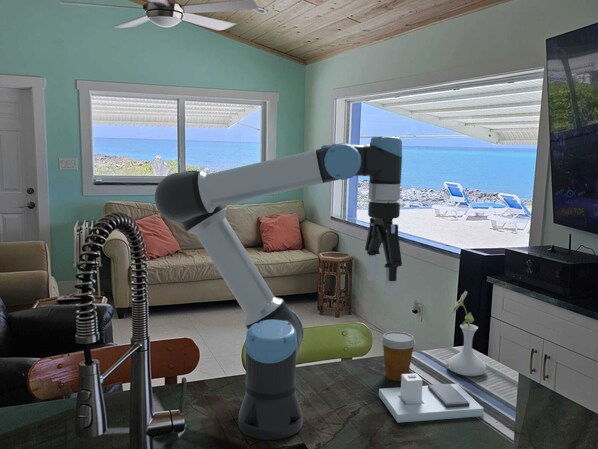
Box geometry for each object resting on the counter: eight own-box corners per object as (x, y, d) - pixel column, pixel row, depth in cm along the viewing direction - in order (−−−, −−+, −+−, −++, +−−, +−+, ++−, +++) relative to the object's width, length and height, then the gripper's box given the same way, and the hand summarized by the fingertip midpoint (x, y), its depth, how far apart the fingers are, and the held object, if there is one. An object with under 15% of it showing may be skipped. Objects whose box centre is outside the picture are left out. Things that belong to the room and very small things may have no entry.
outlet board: (397, 422, 127) (398, 414, 126) (378, 395, 140) (379, 388, 140) (483, 416, 131) (483, 408, 130) (456, 390, 144) (457, 383, 144)
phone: (446, 407, 130) (446, 404, 130) (428, 388, 141) (428, 384, 141) (469, 406, 131) (469, 402, 131) (449, 386, 142) (449, 383, 142)
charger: (405, 411, 132) (407, 380, 131) (400, 403, 136) (401, 373, 135) (421, 410, 133) (422, 379, 132) (415, 402, 137) (416, 372, 136)
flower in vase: (458, 360, 165) (463, 282, 161) (493, 372, 157) (499, 289, 153) (435, 372, 156) (440, 289, 153) (471, 385, 148) (476, 297, 144)
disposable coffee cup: (416, 384, 148) (418, 342, 146) (382, 383, 148) (383, 342, 146) (410, 370, 157) (412, 331, 156) (377, 369, 157) (379, 330, 156)
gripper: (419, 206, 117) (414, 299, 120) (382, 196, 142) (379, 274, 145) (386, 206, 116) (383, 301, 119) (355, 196, 140) (352, 275, 143)
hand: (380, 286), depth 132 cm, fingers open, 13 cm apart
